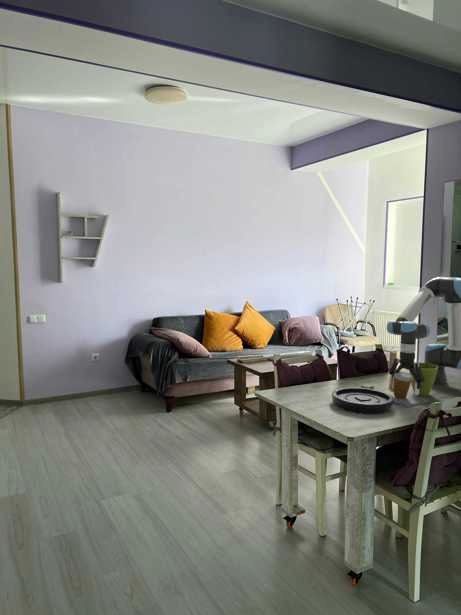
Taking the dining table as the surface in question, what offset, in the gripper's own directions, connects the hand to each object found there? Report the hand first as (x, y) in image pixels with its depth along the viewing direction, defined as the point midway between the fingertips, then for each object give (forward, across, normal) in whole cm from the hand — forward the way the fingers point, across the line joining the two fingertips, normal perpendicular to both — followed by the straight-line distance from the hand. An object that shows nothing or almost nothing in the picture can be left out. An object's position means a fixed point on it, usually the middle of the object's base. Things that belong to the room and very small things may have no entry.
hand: (405, 391), depth 248 cm
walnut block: (+5, -18, -8) cm, 20 cm away
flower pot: (+5, -3, +19) cm, 20 cm away
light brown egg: (+5, -19, +16) cm, 25 cm away
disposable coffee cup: (+3, -3, 0) cm, 5 cm away
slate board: (+5, 0, 0) cm, 5 cm away
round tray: (+5, -6, -26) cm, 27 cm away
